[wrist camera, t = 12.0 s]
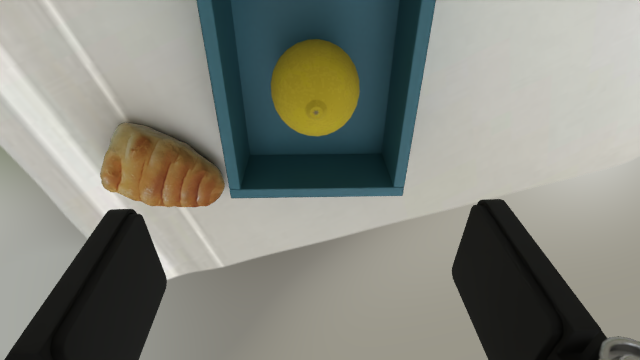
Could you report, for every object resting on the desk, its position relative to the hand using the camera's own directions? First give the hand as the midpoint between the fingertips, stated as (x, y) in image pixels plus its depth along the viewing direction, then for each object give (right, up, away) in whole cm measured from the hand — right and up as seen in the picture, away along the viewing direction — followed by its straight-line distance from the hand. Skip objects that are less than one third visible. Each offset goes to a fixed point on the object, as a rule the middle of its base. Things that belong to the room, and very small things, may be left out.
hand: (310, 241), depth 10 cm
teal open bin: (0, +10, +16) cm, 19 cm away
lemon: (0, +10, +15) cm, 18 cm away
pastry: (-13, +4, +20) cm, 24 cm away
